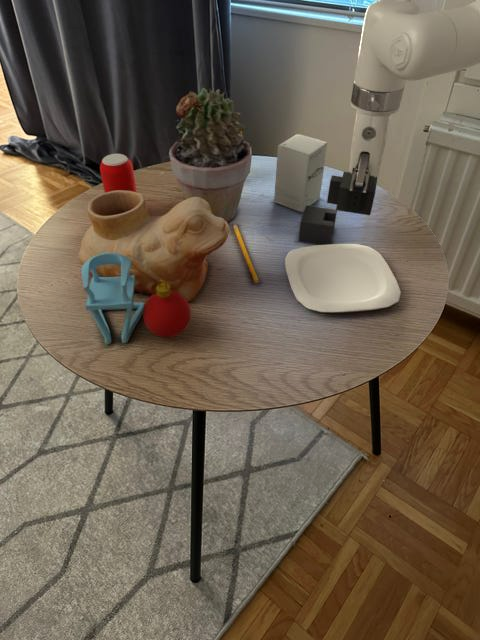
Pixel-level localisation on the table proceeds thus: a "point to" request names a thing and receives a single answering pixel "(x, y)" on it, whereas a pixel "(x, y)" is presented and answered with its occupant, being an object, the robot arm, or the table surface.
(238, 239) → the pencil
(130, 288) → the chair
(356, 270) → the plate
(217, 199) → the potted plant
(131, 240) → the ceramic vessel
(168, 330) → the christmas ornament
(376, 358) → the table surface
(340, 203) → the black rectangular block
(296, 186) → the white packaging box
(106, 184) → the beverage can
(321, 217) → the socket pad
